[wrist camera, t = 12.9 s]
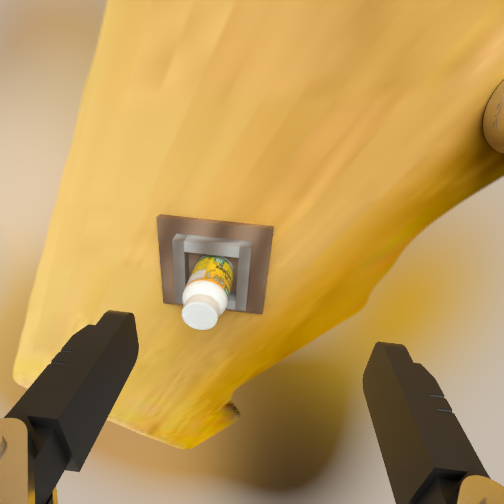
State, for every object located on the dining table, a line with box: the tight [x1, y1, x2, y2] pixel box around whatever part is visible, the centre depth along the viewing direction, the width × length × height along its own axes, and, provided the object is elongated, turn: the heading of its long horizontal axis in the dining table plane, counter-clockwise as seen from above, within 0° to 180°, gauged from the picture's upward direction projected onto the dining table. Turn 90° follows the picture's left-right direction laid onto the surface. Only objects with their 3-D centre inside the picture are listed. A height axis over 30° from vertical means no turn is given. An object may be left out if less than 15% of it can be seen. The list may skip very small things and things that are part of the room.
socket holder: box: [157, 214, 273, 314], centre depth 40 cm, size 15×14×3 cm
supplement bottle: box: [182, 254, 234, 330], centre depth 37 cm, size 6×5×10 cm
